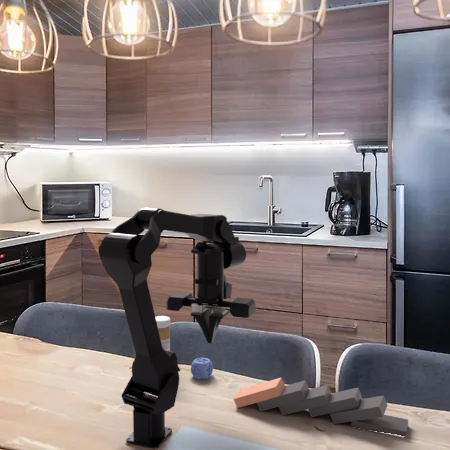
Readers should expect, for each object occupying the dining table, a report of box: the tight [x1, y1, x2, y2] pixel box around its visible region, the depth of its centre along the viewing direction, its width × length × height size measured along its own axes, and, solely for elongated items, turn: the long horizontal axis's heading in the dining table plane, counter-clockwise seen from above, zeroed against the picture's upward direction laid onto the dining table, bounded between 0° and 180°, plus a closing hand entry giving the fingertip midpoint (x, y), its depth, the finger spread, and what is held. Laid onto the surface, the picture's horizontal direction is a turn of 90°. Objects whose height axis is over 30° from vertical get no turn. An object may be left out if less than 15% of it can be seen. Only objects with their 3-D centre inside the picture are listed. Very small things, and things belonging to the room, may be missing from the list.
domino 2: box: [256, 380, 310, 412], centre depth 100 cm, size 2×5×10 cm
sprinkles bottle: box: [155, 315, 171, 351], centre depth 120 cm, size 5×5×13 cm
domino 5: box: [329, 395, 388, 425], centre depth 94 cm, size 2×5×10 cm
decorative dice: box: [190, 357, 214, 381], centre depth 117 cm, size 4×4×4 cm
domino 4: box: [307, 387, 363, 418], centre depth 97 cm, size 2×5×10 cm
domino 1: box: [233, 377, 286, 409], centre depth 101 cm, size 2×5×10 cm
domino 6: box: [351, 414, 409, 437], centre depth 93 cm, size 2×5×10 cm
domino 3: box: [278, 384, 332, 416], centre depth 98 cm, size 2×5×10 cm
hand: (210, 342), depth 104 cm, fingers closed
